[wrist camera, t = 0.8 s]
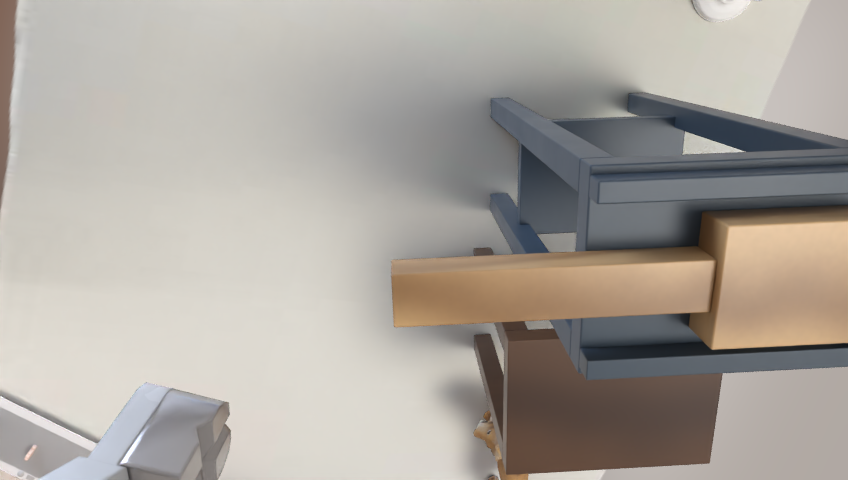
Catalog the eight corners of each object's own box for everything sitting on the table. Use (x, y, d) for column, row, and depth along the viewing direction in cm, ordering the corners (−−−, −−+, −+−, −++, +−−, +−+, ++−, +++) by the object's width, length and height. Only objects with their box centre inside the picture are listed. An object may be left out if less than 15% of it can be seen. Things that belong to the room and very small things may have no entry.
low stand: (473, 248, 56) (508, 341, 39) (628, 241, 57) (729, 330, 40) (474, 349, 60) (506, 475, 43) (620, 342, 60) (710, 463, 43)
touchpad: (-19, 377, 58) (-34, 390, 56) (127, 449, 62) (117, 463, 59) (-51, 435, 60) (-67, 449, 58) (92, 502, 63) (82, 518, 61)
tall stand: (490, 98, 52) (599, 171, 24) (646, 92, 53) (927, 157, 25) (490, 211, 55) (585, 388, 28) (637, 204, 56) (876, 373, 28)
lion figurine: (463, 383, 61) (474, 440, 52) (515, 371, 61) (534, 426, 52) (491, 499, 66) (505, 568, 57) (539, 488, 65) (561, 556, 57)
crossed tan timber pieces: (389, 224, 26) (389, 240, 24) (859, 204, 27) (898, 218, 25) (395, 341, 28) (395, 366, 26) (835, 320, 28) (870, 342, 26)
